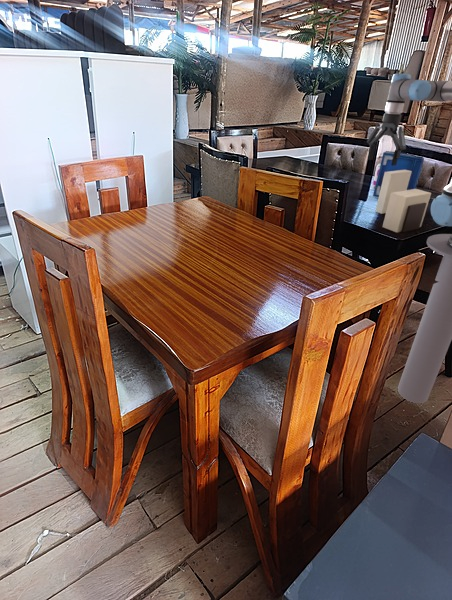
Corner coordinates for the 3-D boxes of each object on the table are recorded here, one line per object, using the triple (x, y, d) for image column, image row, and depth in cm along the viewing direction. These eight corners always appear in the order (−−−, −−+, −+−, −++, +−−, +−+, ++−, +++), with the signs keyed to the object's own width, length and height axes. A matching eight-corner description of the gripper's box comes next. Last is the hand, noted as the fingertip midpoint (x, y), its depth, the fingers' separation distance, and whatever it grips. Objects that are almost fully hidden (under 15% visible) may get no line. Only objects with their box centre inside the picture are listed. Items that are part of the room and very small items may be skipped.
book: (413, 201, 227) (426, 155, 215) (411, 203, 222) (423, 156, 209) (375, 194, 237) (384, 150, 224) (372, 197, 231) (381, 151, 219)
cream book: (401, 210, 211) (411, 171, 201) (381, 213, 203) (391, 173, 193) (394, 207, 214) (404, 169, 204) (375, 211, 206) (384, 171, 196)
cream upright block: (422, 227, 187) (433, 193, 179) (398, 233, 178) (408, 197, 170) (406, 221, 193) (415, 188, 185) (382, 227, 185) (391, 192, 177)
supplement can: (384, 192, 242) (390, 166, 235) (370, 190, 245) (375, 164, 238) (386, 189, 248) (392, 164, 241) (373, 187, 252) (378, 162, 244)
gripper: (422, 116, 172) (409, 167, 182) (376, 110, 190) (366, 157, 200) (412, 116, 168) (398, 168, 178) (365, 110, 186) (356, 157, 196)
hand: (381, 162), depth 189 cm, fingers open, 13 cm apart
